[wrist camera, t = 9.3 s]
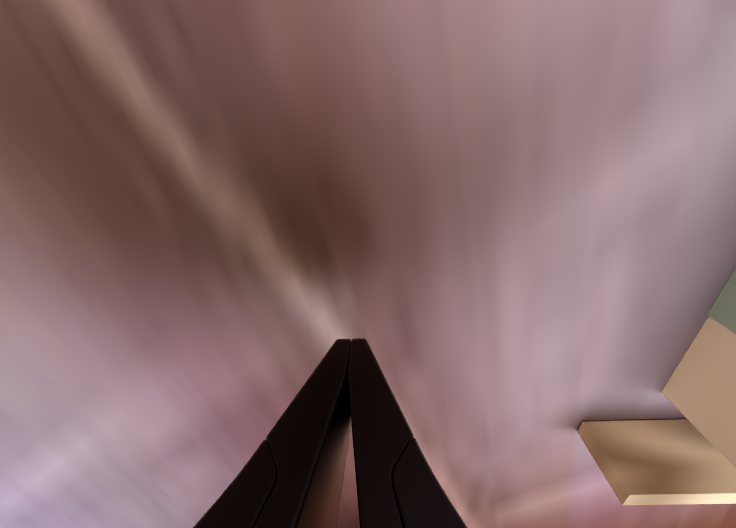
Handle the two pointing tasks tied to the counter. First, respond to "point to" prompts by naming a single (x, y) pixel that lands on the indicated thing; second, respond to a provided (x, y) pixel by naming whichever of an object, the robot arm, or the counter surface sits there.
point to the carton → (711, 376)
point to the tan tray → (659, 462)
